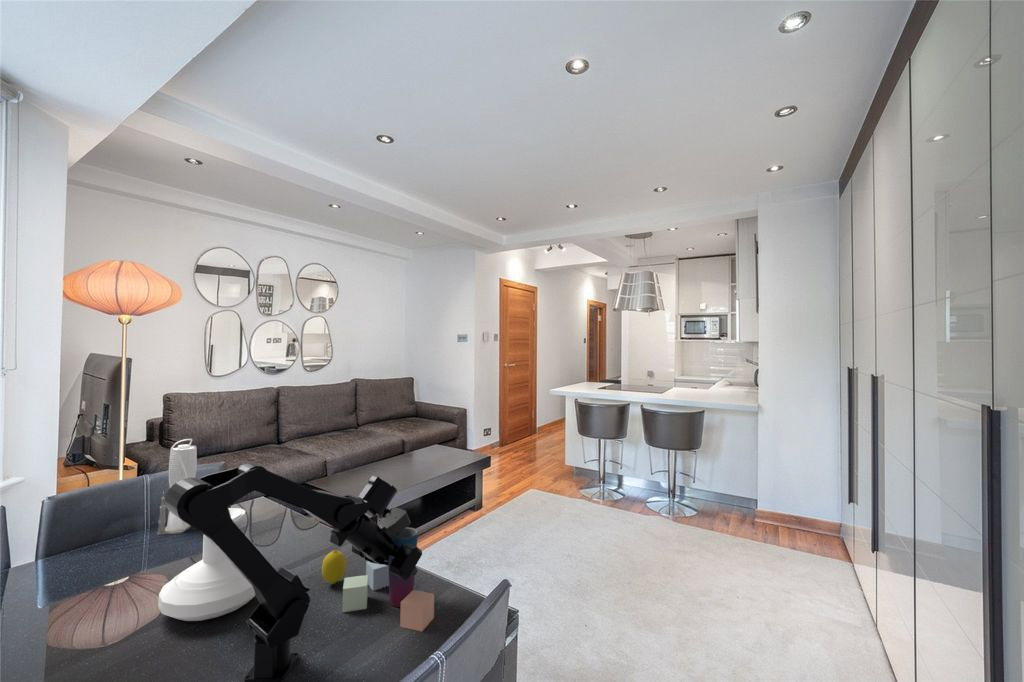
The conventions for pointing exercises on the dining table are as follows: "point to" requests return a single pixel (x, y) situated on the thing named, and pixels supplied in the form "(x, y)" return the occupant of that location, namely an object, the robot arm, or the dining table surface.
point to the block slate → (377, 575)
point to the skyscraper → (179, 468)
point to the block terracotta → (417, 610)
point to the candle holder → (206, 586)
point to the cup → (396, 584)
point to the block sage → (355, 593)
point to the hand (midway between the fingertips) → (407, 568)
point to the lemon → (334, 566)
